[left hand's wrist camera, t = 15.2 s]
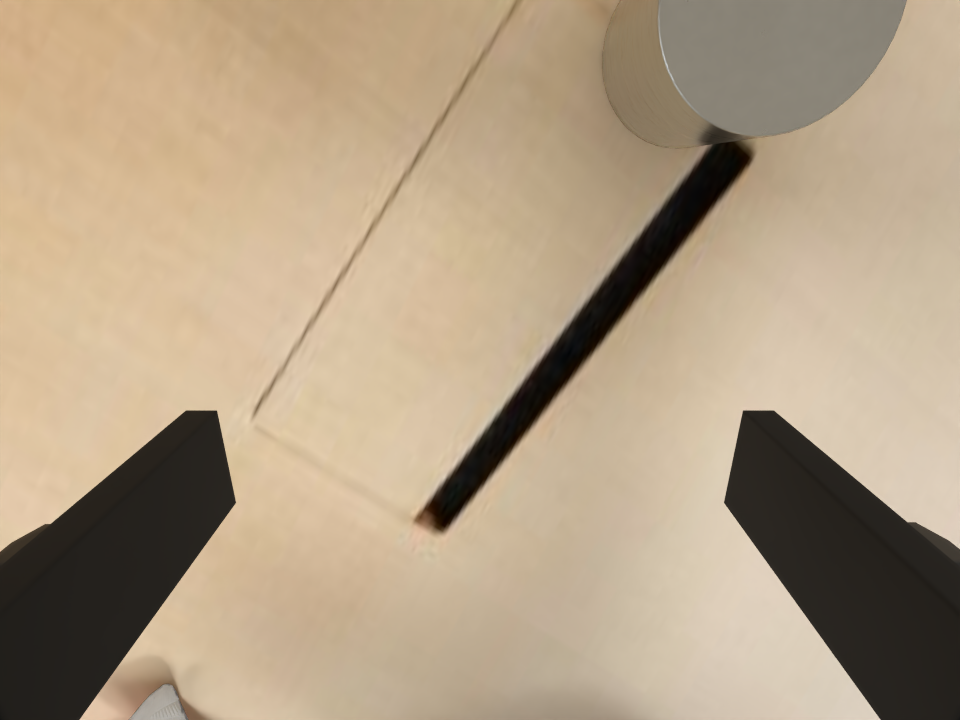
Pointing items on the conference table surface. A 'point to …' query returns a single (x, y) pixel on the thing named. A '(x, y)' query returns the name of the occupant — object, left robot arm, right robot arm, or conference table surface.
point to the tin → (739, 64)
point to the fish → (161, 706)
